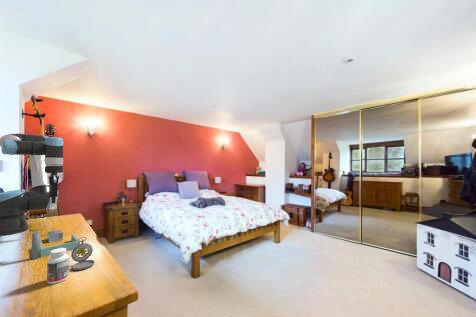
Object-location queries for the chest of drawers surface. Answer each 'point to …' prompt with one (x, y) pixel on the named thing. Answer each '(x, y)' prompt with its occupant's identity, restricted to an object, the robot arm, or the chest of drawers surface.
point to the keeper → (41, 251)
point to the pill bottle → (57, 266)
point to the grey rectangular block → (54, 236)
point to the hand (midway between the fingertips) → (53, 209)
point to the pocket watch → (82, 260)
